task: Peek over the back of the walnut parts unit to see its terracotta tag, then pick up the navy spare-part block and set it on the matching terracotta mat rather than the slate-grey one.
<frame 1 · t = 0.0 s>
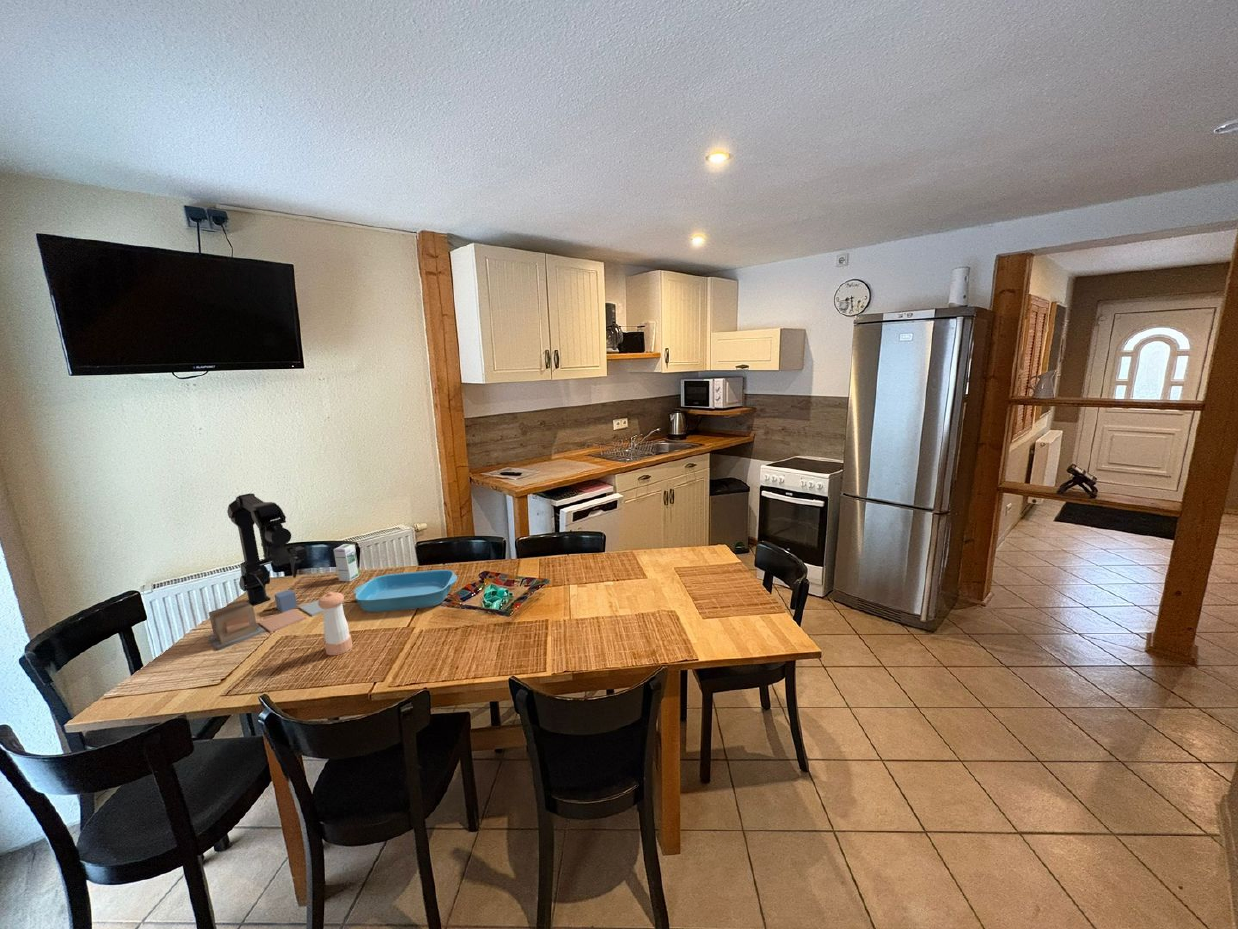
hand: (279, 582, 172), 15 cm above the table, fingers open, 9 cm apart
salt shaker: (339, 649, 156), on the table
terracotta mat: (282, 621, 175), on the table
grey mat: (321, 606, 185), on the table
parts unit: (236, 636, 166), on the table
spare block: (287, 608, 185), on the table
syrup box: (349, 579, 209), on the table
casserole dish: (408, 600, 187), on the table
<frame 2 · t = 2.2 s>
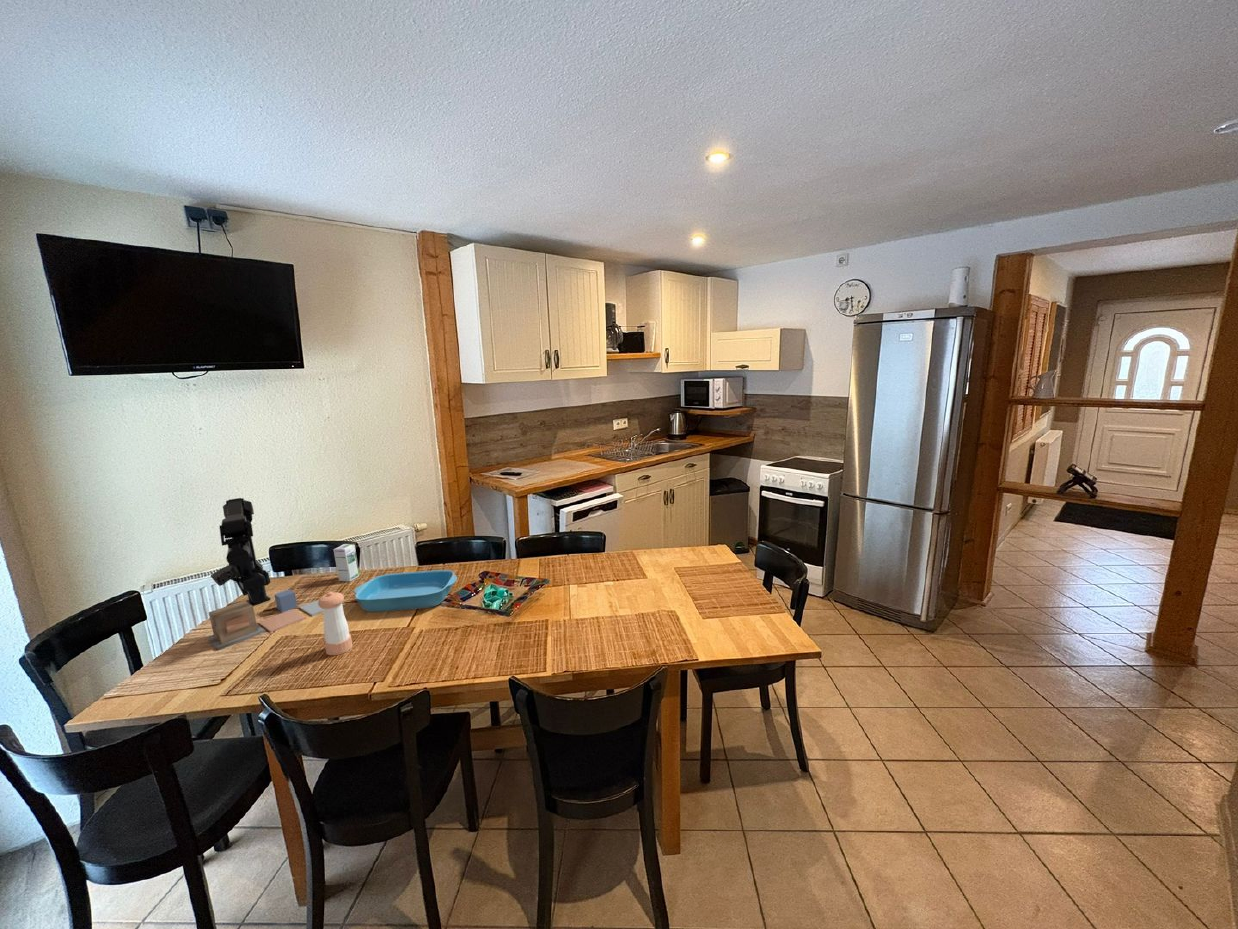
hand: (250, 598, 167), 12 cm above the table, fingers open, 9 cm apart
nothing on the table moved.
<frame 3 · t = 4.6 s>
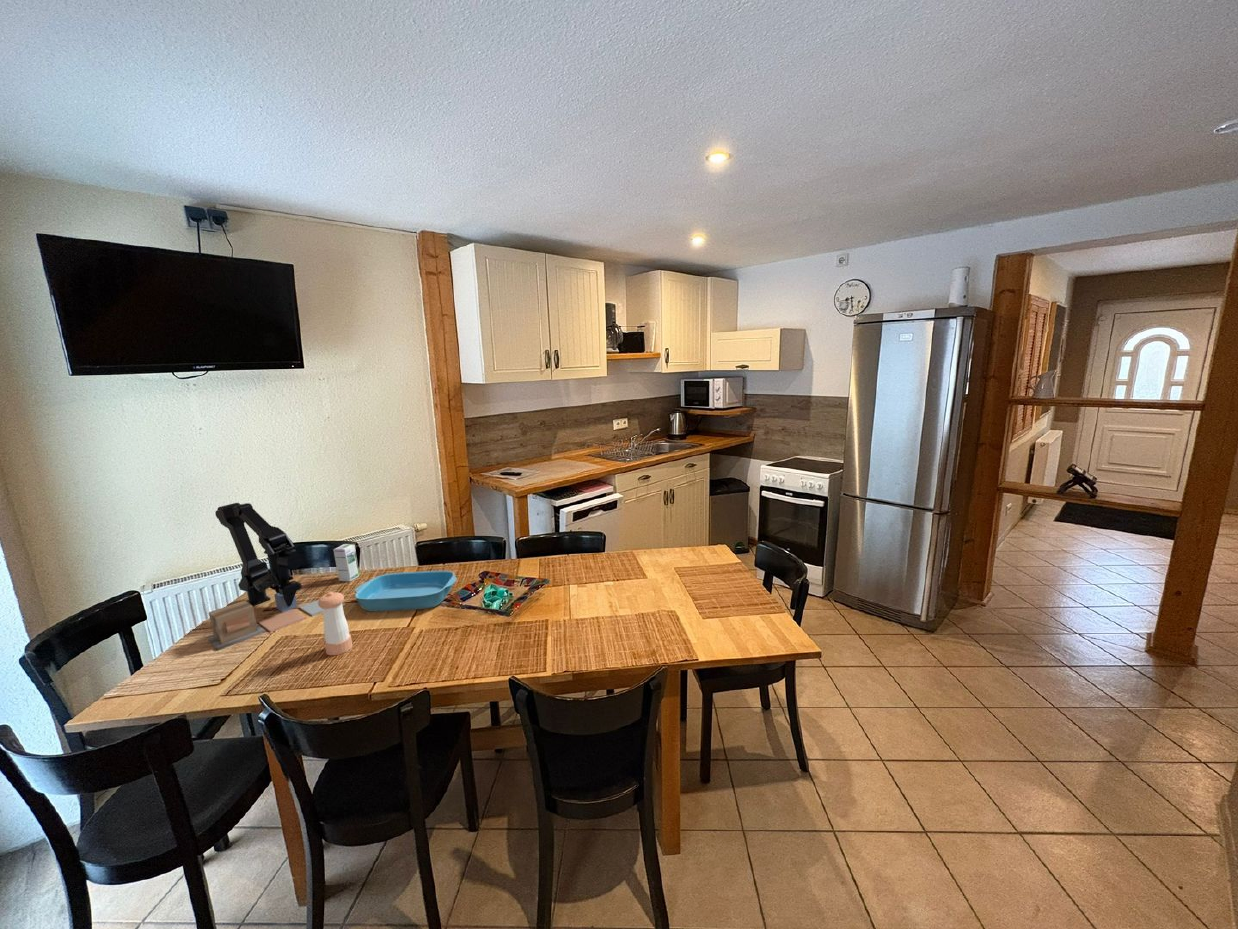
hand: (286, 604, 185), 2 cm above the table, fingers closed on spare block, 5 cm apart
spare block: (287, 608, 185), on the table, touching gripper
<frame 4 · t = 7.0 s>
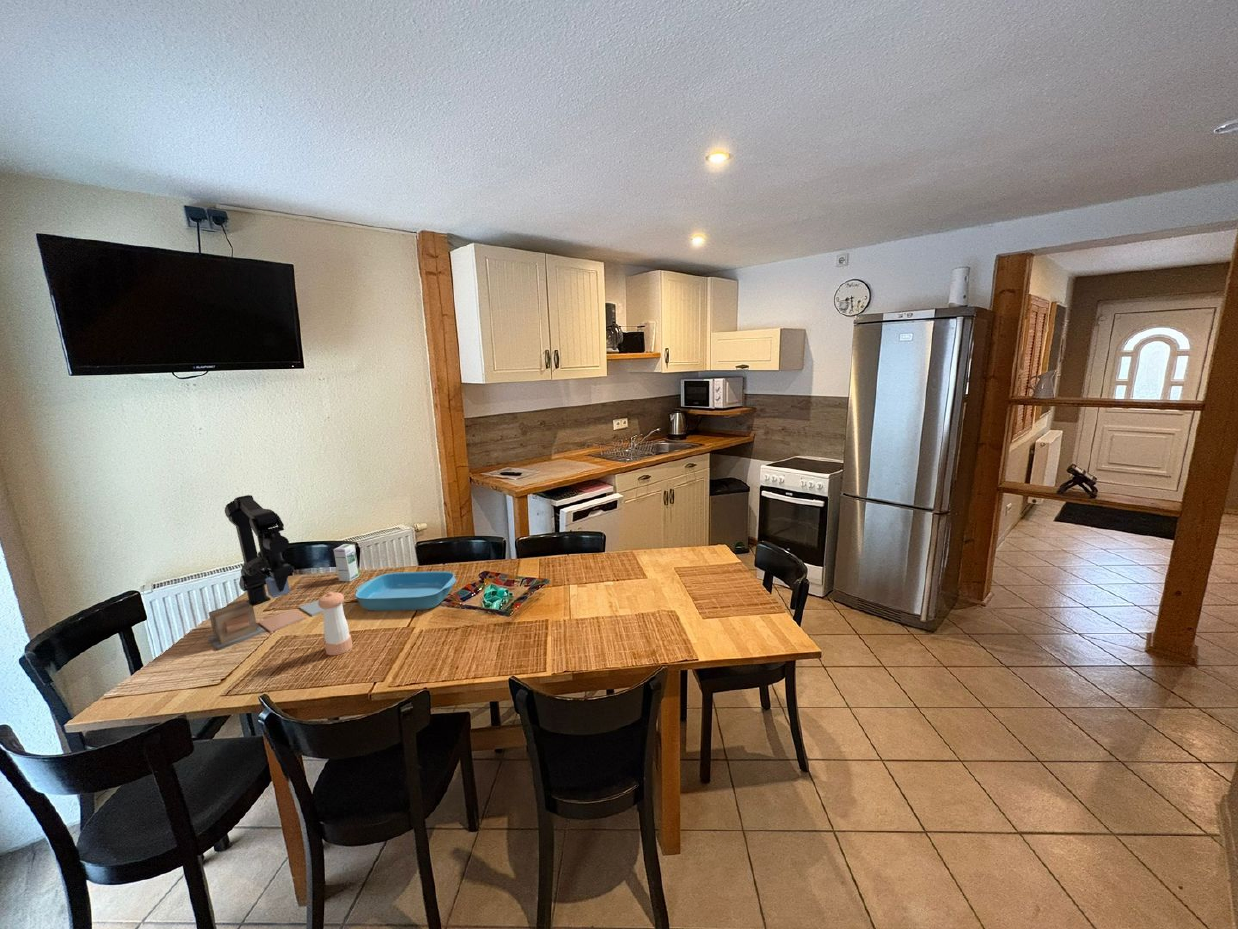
hand: (278, 589, 174), 11 cm above the table, fingers closed on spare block, 5 cm apart
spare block: (279, 593, 175), point 10 cm above the table, touching gripper
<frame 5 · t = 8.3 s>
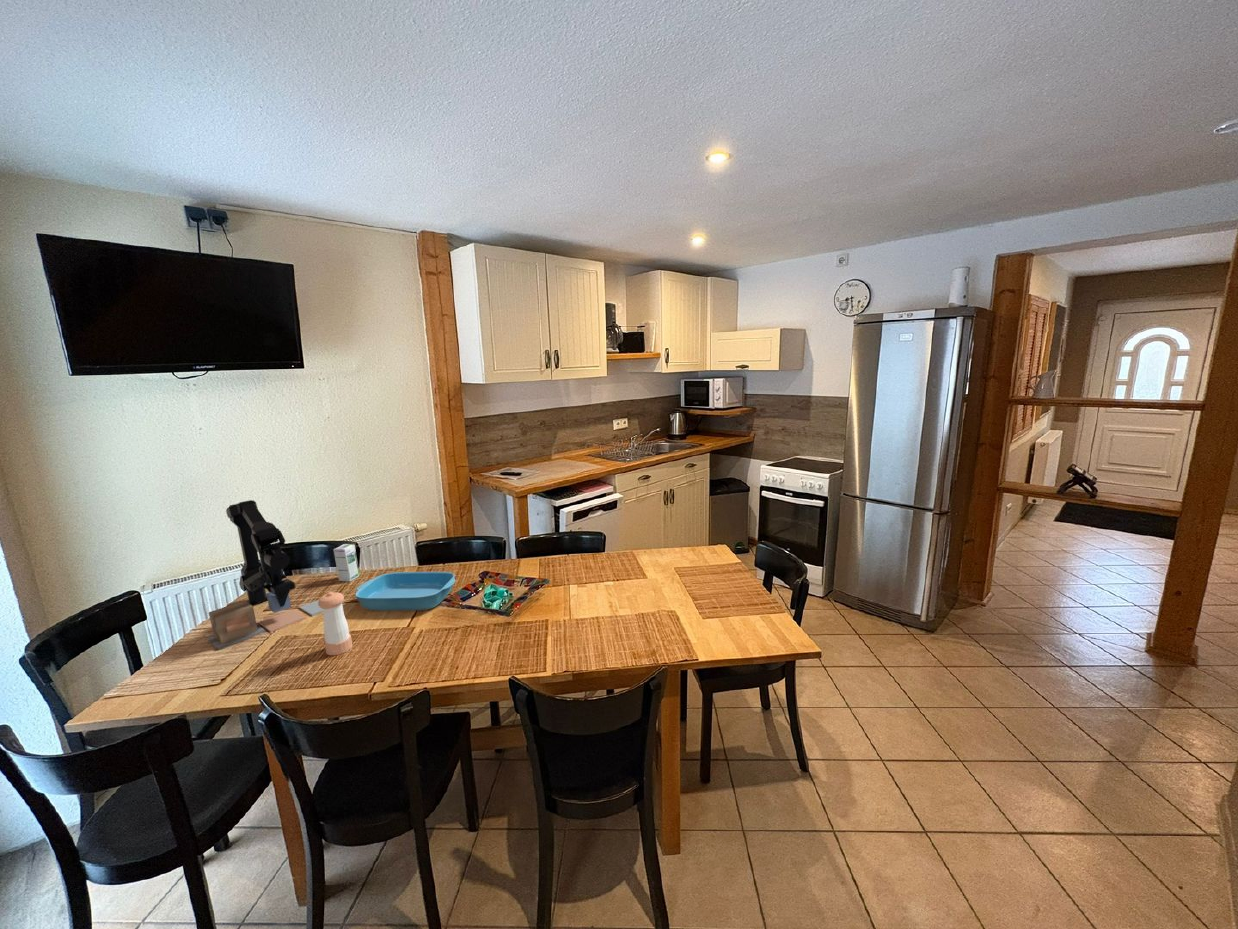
hand: (279, 604, 174), 6 cm above the table, fingers closed on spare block, 5 cm apart
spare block: (280, 608, 174), point 5 cm above the table, touching gripper
when the fingers open (3 cm above the table, at t = 9.5 s): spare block stays where it is, resting on terracotta mat.
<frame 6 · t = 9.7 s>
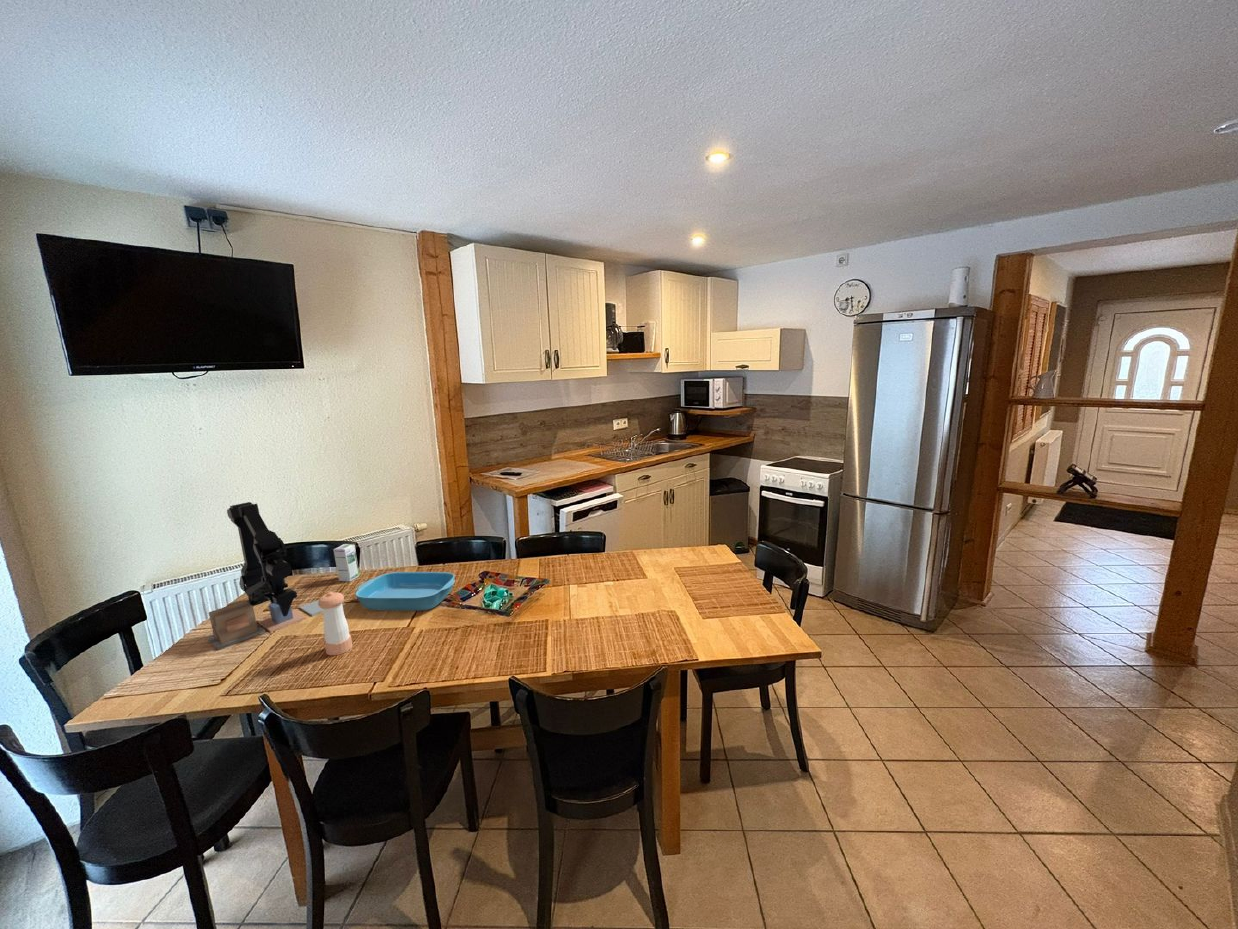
hand: (281, 613, 175), 3 cm above the table, fingers open, 7 cm apart
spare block: (282, 619, 175), point 1 cm above the table, touching terracotta mat
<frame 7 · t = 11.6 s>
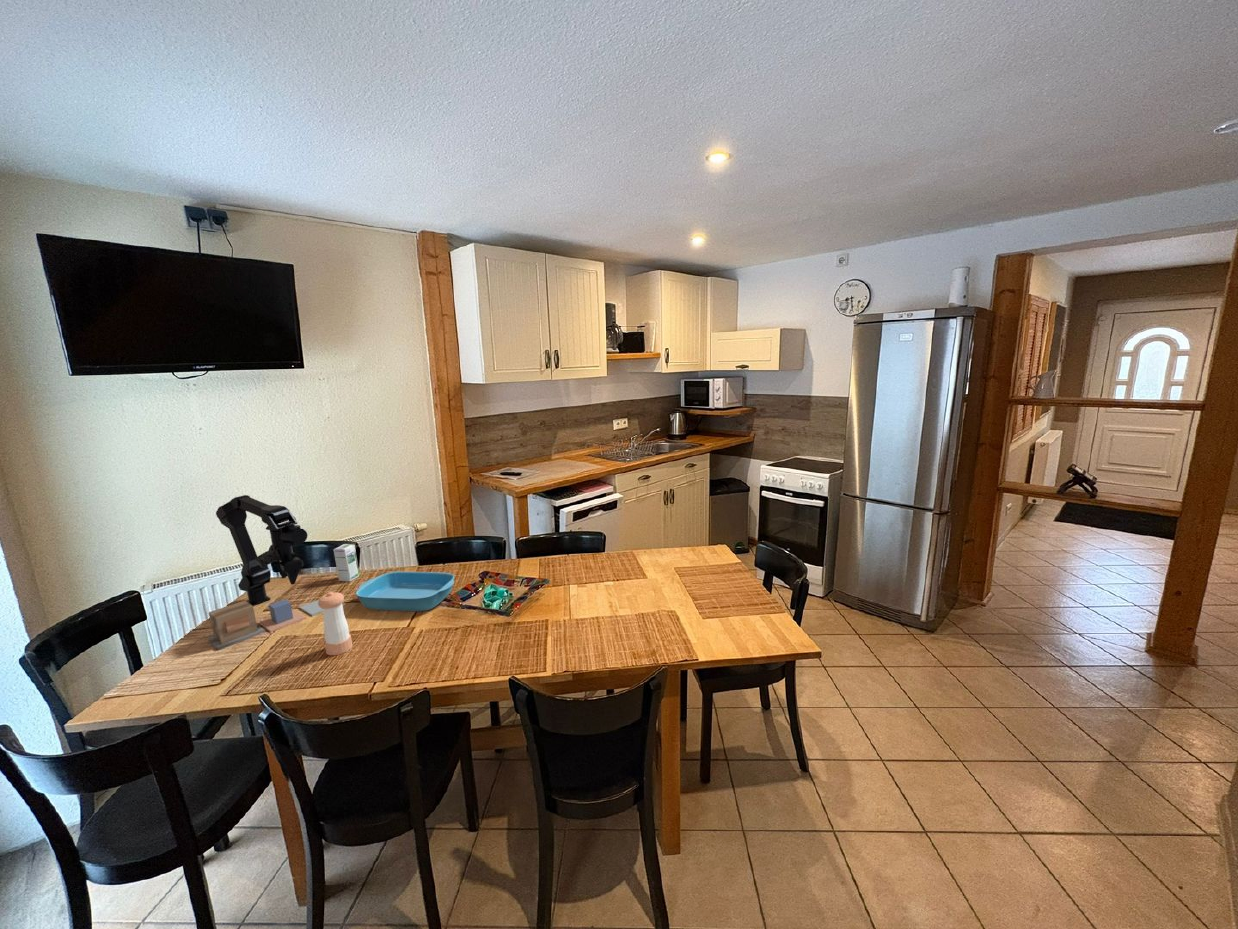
hand: (288, 581, 183), 11 cm above the table, fingers open, 9 cm apart
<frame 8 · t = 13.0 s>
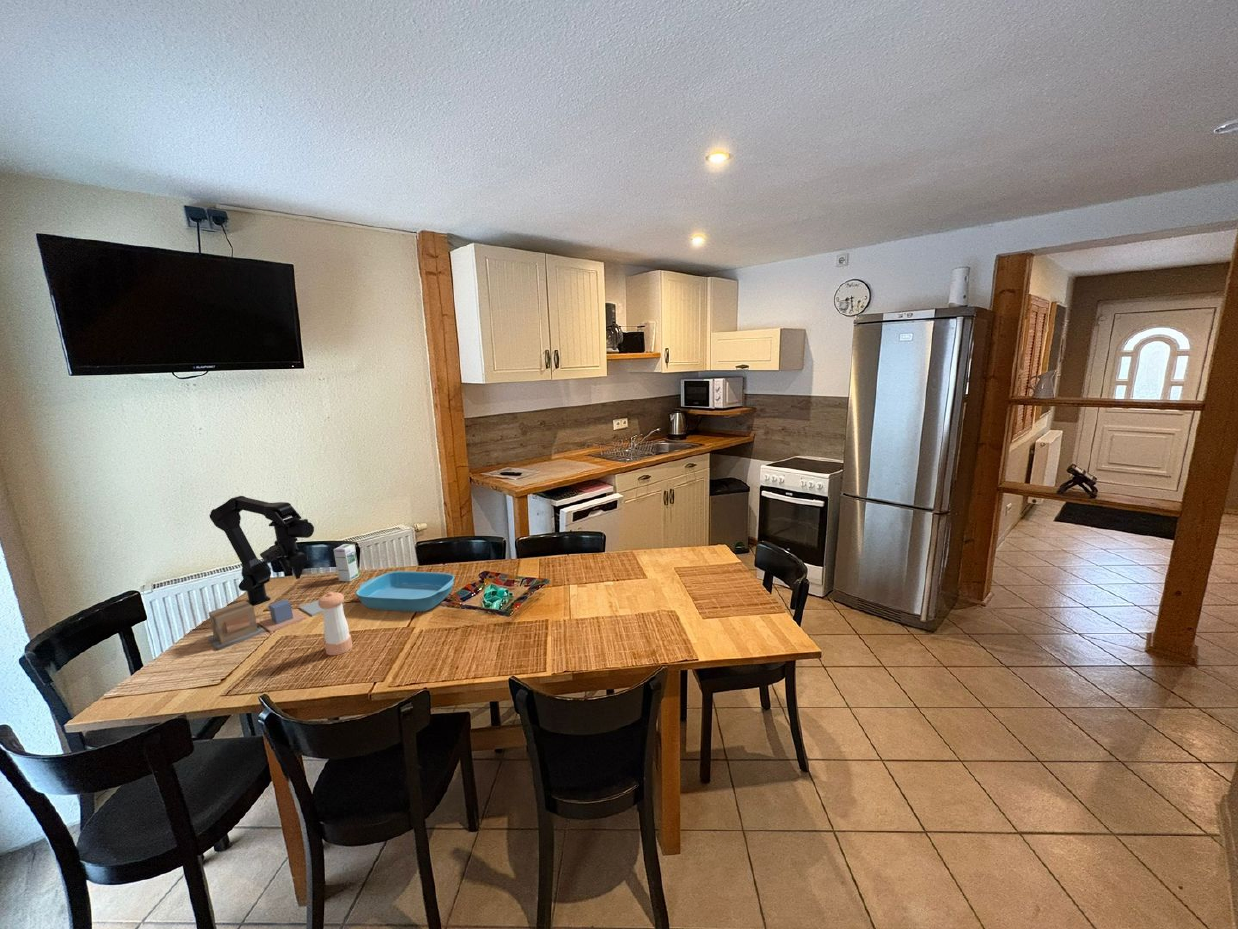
hand: (293, 576, 187), 11 cm above the table, fingers open, 9 cm apart
at the end: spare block inside the target area on the terracotta mat (0.1 cm from its centre), point 0.6 cm above the terracotta mat's base; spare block tilted 0°; the gripper is holding nothing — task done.
